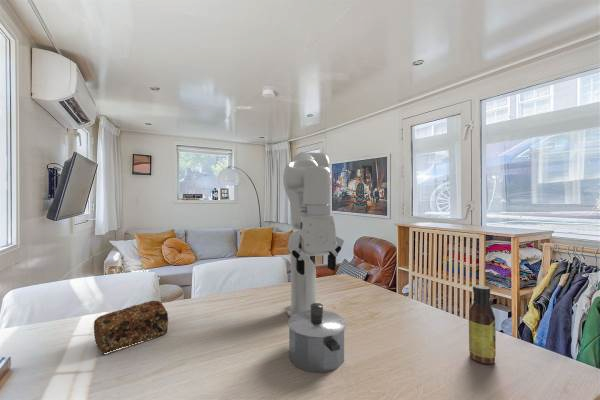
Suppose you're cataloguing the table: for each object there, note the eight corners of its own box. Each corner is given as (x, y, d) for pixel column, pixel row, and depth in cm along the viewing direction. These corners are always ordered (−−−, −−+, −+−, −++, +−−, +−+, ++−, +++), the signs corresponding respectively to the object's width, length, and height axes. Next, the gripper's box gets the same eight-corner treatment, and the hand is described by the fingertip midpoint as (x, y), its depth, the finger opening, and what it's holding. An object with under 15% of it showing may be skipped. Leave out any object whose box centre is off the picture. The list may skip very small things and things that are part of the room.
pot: (279, 344, 87) (279, 315, 87) (322, 334, 93) (322, 307, 93) (308, 385, 68) (308, 347, 68) (360, 369, 74) (360, 334, 74)
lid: (278, 319, 84) (278, 301, 84) (324, 308, 91) (324, 292, 91) (306, 344, 70) (306, 322, 70) (357, 329, 78) (357, 309, 77)
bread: (157, 324, 101) (157, 296, 100) (169, 335, 93) (169, 304, 93) (93, 344, 87) (92, 311, 87) (100, 358, 80) (100, 322, 80)
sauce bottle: (500, 366, 76) (500, 291, 75) (473, 364, 77) (474, 290, 77) (489, 353, 82) (489, 284, 82) (465, 351, 83) (465, 282, 83)
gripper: (293, 213, 73) (293, 279, 74) (350, 210, 80) (349, 271, 81) (283, 210, 80) (283, 271, 81) (336, 209, 87) (335, 265, 88)
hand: (316, 271), depth 81 cm, fingers open, 9 cm apart
